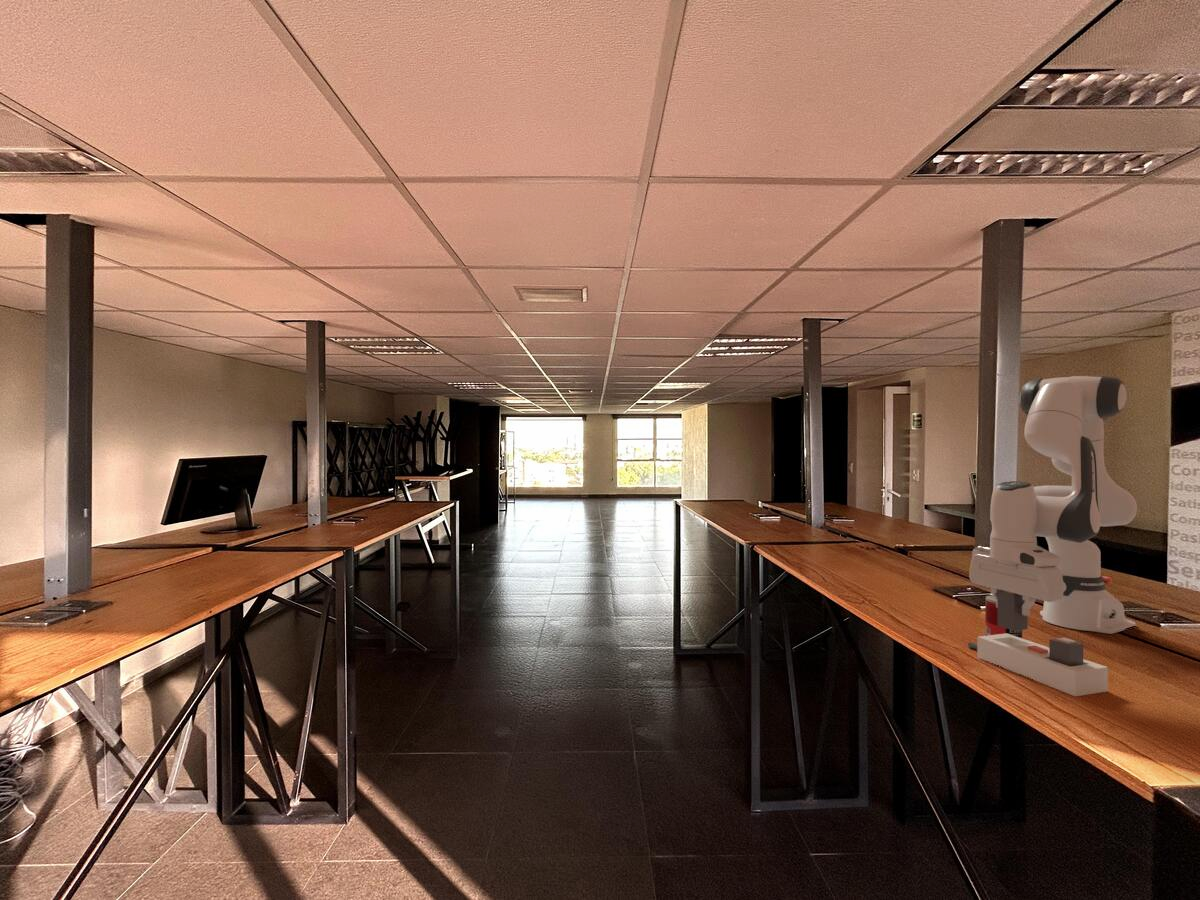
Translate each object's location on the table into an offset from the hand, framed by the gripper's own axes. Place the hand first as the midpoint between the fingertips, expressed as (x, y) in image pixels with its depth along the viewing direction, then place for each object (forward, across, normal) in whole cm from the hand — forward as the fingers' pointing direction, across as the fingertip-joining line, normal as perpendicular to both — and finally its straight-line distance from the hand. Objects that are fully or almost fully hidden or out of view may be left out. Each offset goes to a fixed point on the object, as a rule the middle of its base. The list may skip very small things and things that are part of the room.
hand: (1012, 611), depth 133 cm
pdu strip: (+12, +3, 0) cm, 12 cm away
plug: (+4, 0, 0) cm, 4 cm away
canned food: (+12, -12, +12) cm, 21 cm away
